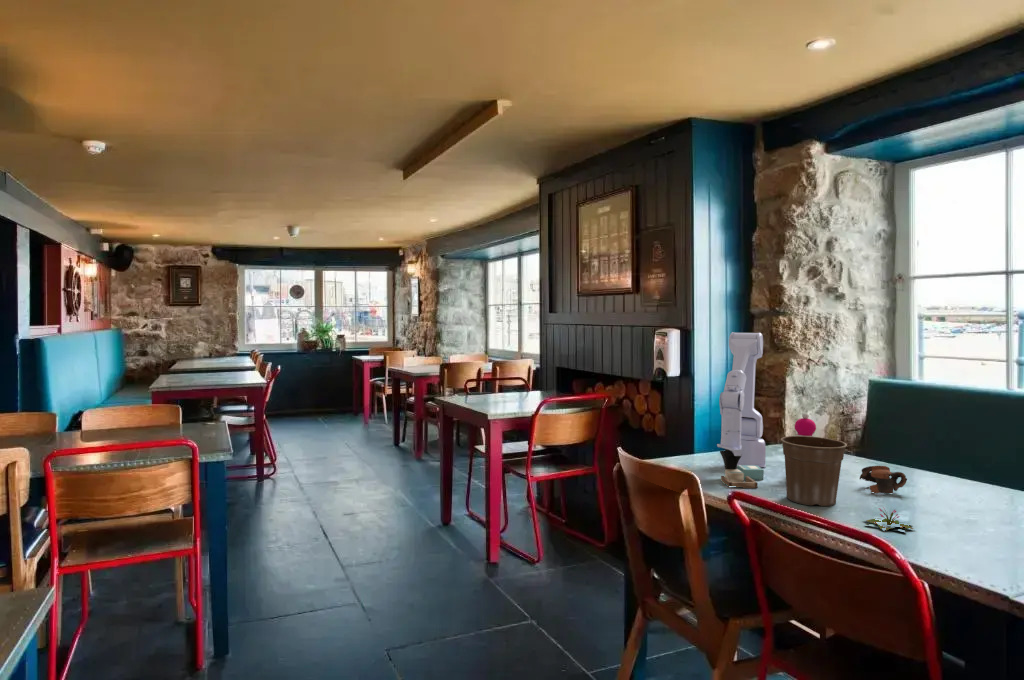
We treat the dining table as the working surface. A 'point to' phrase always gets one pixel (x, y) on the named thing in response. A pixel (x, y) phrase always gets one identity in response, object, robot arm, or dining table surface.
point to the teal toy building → (752, 471)
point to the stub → (734, 475)
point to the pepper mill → (805, 426)
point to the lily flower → (888, 521)
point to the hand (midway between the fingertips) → (730, 474)
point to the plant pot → (812, 469)
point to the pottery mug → (883, 479)
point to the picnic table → (741, 483)
